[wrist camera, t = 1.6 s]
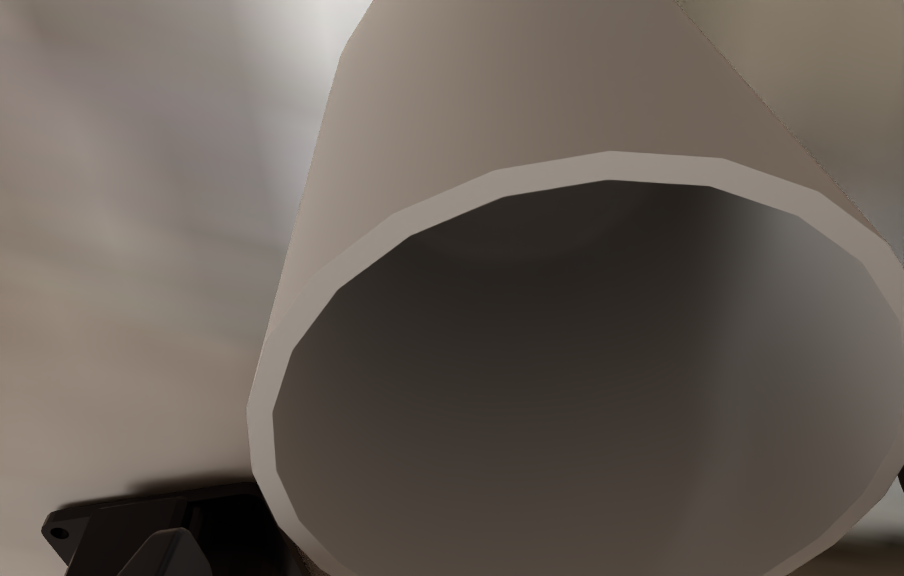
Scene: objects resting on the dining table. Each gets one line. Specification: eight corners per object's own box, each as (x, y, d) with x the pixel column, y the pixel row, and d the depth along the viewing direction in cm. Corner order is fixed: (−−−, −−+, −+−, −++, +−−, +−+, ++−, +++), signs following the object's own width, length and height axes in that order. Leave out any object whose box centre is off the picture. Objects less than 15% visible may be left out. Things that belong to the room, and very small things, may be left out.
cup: (756, -28, 14) (1100, 233, 7) (584, 376, 20) (674, 750, 13) (360, -123, 13) (277, 69, 6) (298, 332, 19) (217, 714, 12)
